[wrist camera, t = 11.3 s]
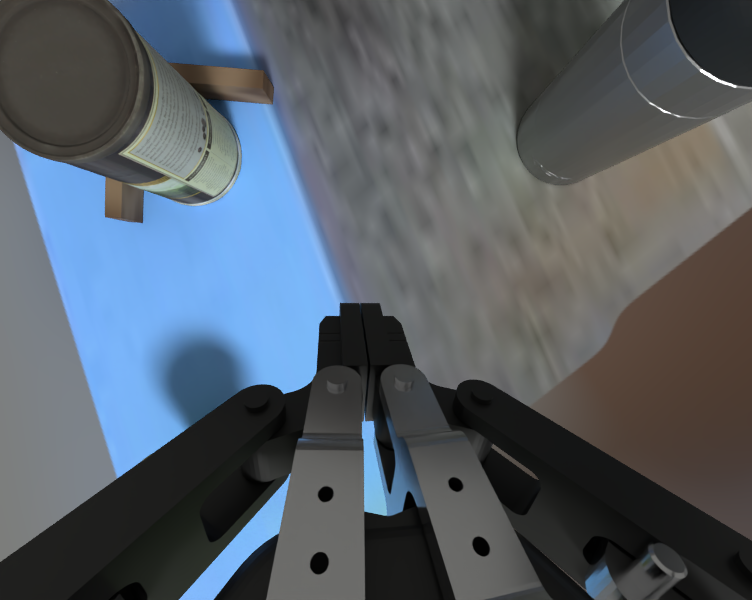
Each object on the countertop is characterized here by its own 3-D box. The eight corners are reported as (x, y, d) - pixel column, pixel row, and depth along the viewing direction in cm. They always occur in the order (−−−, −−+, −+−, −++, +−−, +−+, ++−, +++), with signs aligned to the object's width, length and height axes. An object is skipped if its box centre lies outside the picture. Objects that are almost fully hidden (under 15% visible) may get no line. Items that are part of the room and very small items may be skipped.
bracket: (281, 96, 33) (271, 80, 30) (134, 229, 34) (112, 226, 31) (208, 8, 32) (192, -17, 29) (63, 147, 33) (34, 136, 31)
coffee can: (178, 225, 34) (34, 191, 20) (126, 136, 33) (-61, 36, 19) (262, 175, 33) (174, 104, 19) (210, 84, 33) (81, -58, 19)
